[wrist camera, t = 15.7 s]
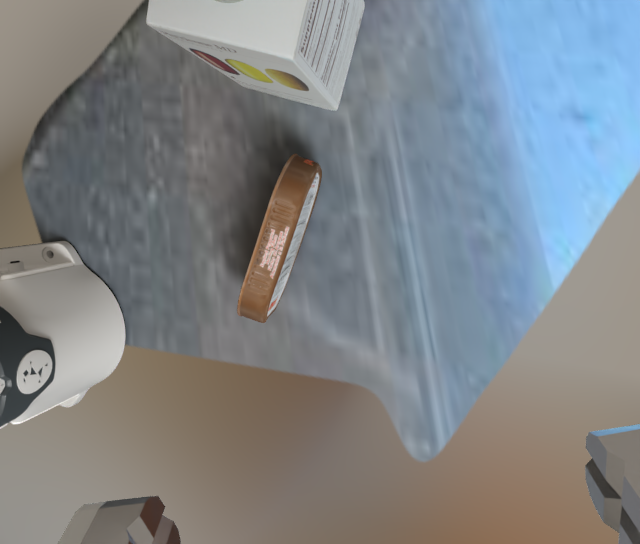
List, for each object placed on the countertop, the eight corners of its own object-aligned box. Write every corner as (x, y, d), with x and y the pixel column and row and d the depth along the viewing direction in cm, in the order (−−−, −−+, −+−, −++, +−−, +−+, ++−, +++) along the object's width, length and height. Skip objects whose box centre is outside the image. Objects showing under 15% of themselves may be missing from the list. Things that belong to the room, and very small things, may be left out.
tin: (303, 155, 42) (277, 147, 34) (334, 167, 42) (316, 161, 33) (254, 300, 45) (221, 325, 37) (283, 312, 45) (255, 339, 37)
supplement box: (241, 88, 42) (136, 24, 26) (264, -19, 40) (165, -164, 23) (340, 113, 41) (295, 62, 24) (368, 3, 38) (340, -133, 22)
